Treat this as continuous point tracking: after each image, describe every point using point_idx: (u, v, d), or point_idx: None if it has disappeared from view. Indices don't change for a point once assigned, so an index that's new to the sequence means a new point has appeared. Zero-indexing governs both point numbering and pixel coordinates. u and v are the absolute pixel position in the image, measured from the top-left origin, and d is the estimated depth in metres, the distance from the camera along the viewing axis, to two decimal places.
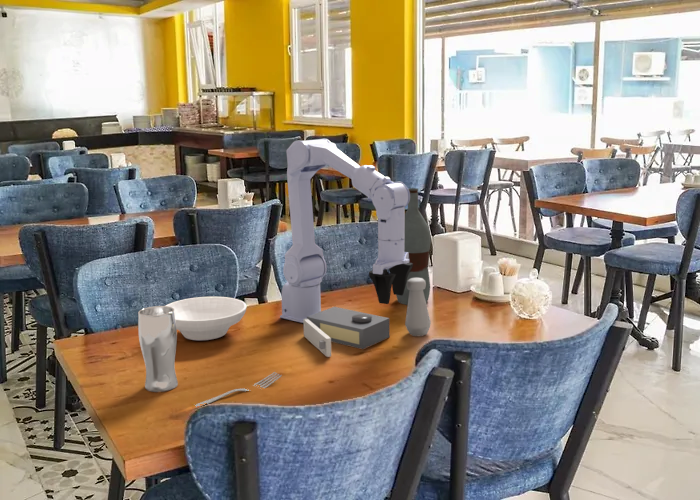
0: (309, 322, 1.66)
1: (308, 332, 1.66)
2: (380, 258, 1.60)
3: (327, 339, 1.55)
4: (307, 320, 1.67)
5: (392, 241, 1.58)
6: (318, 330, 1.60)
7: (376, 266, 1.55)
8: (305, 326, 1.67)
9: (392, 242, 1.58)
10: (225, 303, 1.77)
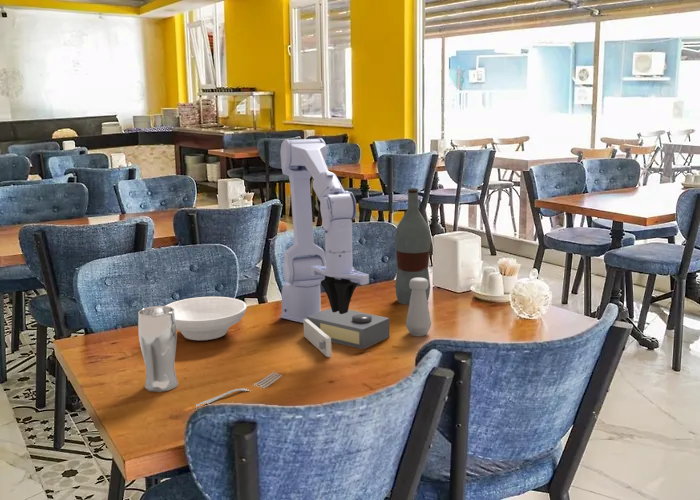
0: (309, 322, 1.66)
1: (308, 332, 1.66)
2: (343, 271, 1.54)
3: (327, 339, 1.55)
4: (307, 320, 1.67)
5: None
6: (318, 330, 1.60)
7: (365, 276, 1.52)
8: (305, 326, 1.67)
9: None
10: (225, 303, 1.77)
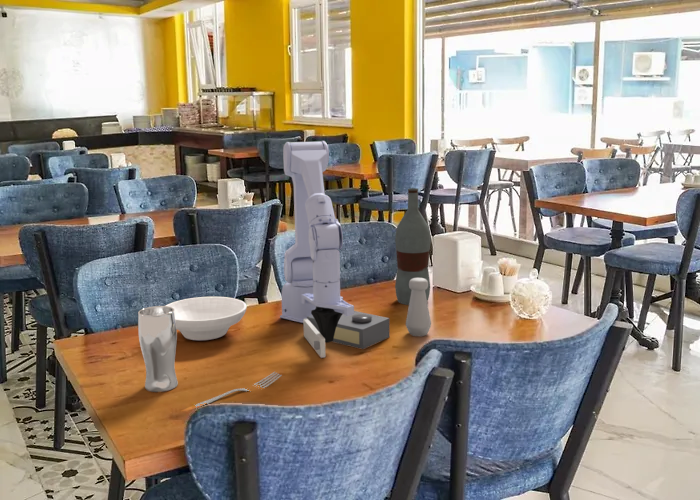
0: (308, 322, 1.66)
1: (307, 332, 1.66)
2: (329, 302, 1.54)
3: (321, 340, 1.54)
4: (306, 320, 1.67)
5: (339, 280, 1.56)
6: (314, 330, 1.60)
7: (350, 307, 1.52)
8: (304, 326, 1.67)
9: (339, 281, 1.56)
10: (225, 303, 1.77)
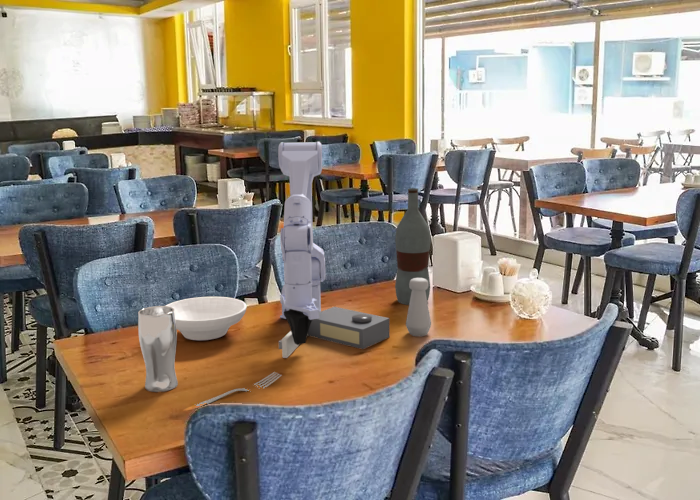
0: None
1: None
2: (297, 304, 1.53)
3: (282, 340, 1.55)
4: None
5: (309, 283, 1.54)
6: None
7: (314, 311, 1.50)
8: None
9: (309, 284, 1.54)
10: (225, 303, 1.77)
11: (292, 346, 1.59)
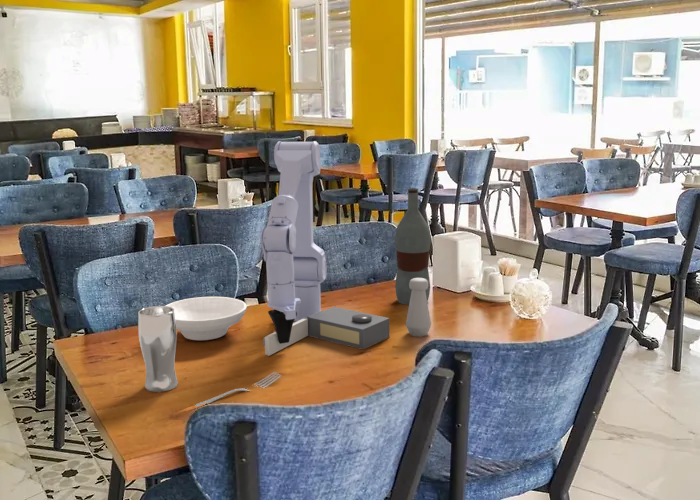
0: (298, 321, 1.66)
1: None
2: (277, 303, 1.55)
3: (265, 337, 1.56)
4: (302, 319, 1.68)
5: (290, 283, 1.55)
6: None
7: (290, 311, 1.51)
8: None
9: (290, 284, 1.55)
10: (225, 303, 1.77)
11: (279, 344, 1.60)
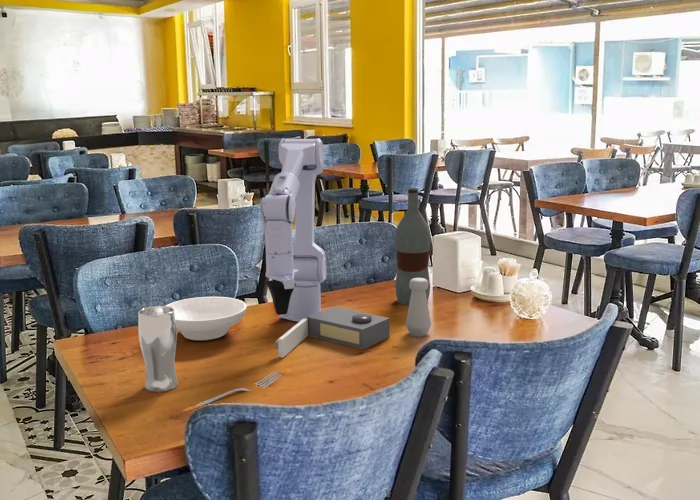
0: (300, 322, 1.66)
1: None
2: (276, 273, 1.54)
3: (279, 340, 1.55)
4: (303, 320, 1.68)
5: (289, 253, 1.54)
6: (290, 330, 1.60)
7: (289, 281, 1.50)
8: None
9: (289, 254, 1.54)
10: (225, 303, 1.77)
11: (289, 346, 1.59)
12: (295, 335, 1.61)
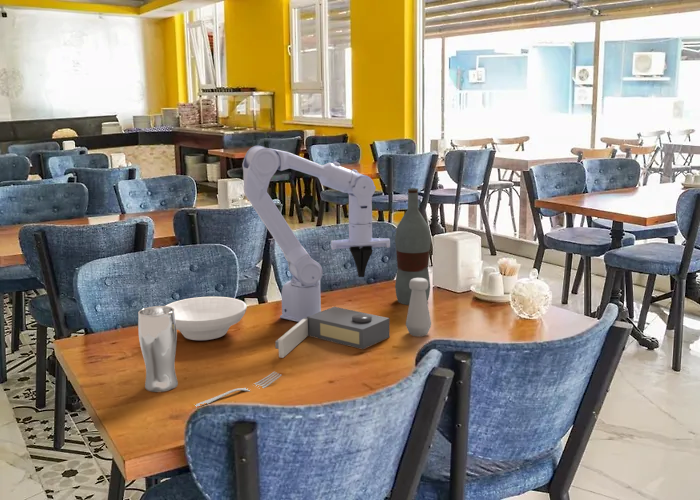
0: (300, 322, 1.66)
1: None
2: (371, 239, 1.82)
3: (279, 340, 1.55)
4: (303, 320, 1.68)
5: None
6: (290, 330, 1.60)
7: (389, 240, 1.84)
8: None
9: None
10: (225, 303, 1.77)
11: (289, 346, 1.59)
12: (295, 335, 1.61)
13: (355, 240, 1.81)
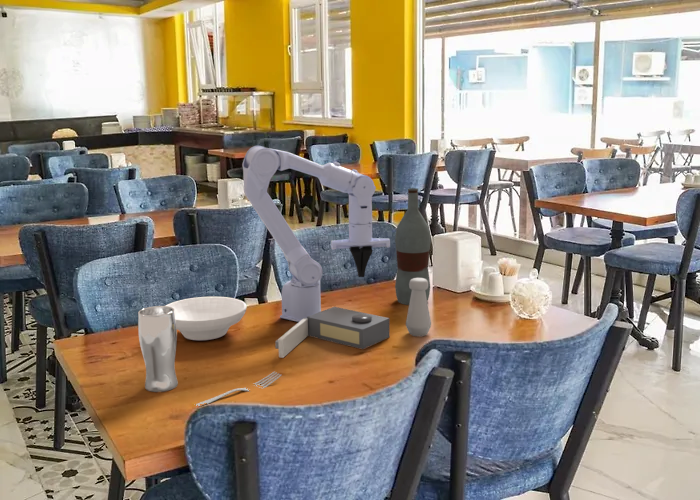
0: (300, 322, 1.66)
1: None
2: (371, 239, 1.82)
3: (279, 340, 1.55)
4: (303, 320, 1.68)
5: None
6: (290, 330, 1.60)
7: (389, 240, 1.84)
8: None
9: None
10: (225, 303, 1.77)
11: (289, 346, 1.59)
12: (295, 335, 1.61)
13: (355, 240, 1.81)
